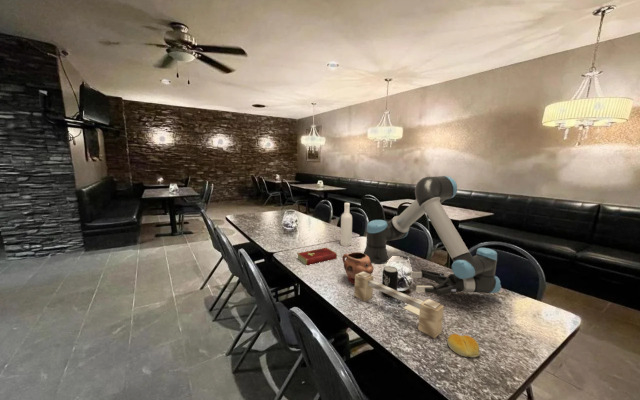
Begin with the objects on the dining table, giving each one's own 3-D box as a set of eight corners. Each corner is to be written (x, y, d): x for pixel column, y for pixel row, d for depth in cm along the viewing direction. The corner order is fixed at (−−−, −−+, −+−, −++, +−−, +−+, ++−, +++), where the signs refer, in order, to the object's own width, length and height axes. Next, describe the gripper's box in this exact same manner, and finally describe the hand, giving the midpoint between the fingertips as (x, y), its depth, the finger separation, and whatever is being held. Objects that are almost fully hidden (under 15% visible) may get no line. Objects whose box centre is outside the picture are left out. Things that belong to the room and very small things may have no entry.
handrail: (354, 296, 114) (355, 273, 112) (361, 292, 117) (362, 270, 115) (434, 338, 87) (437, 309, 86) (441, 332, 91) (443, 304, 89)
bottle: (340, 242, 187) (341, 201, 182) (351, 242, 186) (352, 202, 182) (340, 246, 179) (341, 203, 174) (351, 246, 179) (353, 204, 174)
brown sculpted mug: (333, 277, 131) (333, 251, 129) (348, 271, 139) (349, 246, 137) (364, 292, 117) (365, 263, 115) (379, 284, 125) (381, 257, 123)
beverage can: (397, 298, 112) (399, 272, 110) (382, 296, 114) (383, 271, 112) (396, 291, 119) (397, 266, 117) (381, 289, 120) (382, 265, 118)
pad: (403, 308, 105) (403, 307, 105) (417, 299, 112) (417, 298, 112) (430, 321, 97) (430, 320, 97) (442, 310, 104) (442, 309, 104)
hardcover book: (336, 259, 156) (336, 252, 156) (306, 266, 146) (306, 259, 145) (326, 253, 167) (326, 247, 166) (297, 259, 156) (297, 252, 155)
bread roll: (444, 338, 88) (445, 327, 87) (474, 343, 86) (475, 332, 85) (450, 355, 80) (451, 344, 79) (482, 361, 78) (484, 349, 77)
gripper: (474, 306, 102) (420, 304, 103) (447, 278, 126) (403, 276, 127) (476, 289, 100) (421, 287, 102) (449, 263, 125) (404, 262, 126)
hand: (411, 281), depth 114 cm, fingers open, 13 cm apart
